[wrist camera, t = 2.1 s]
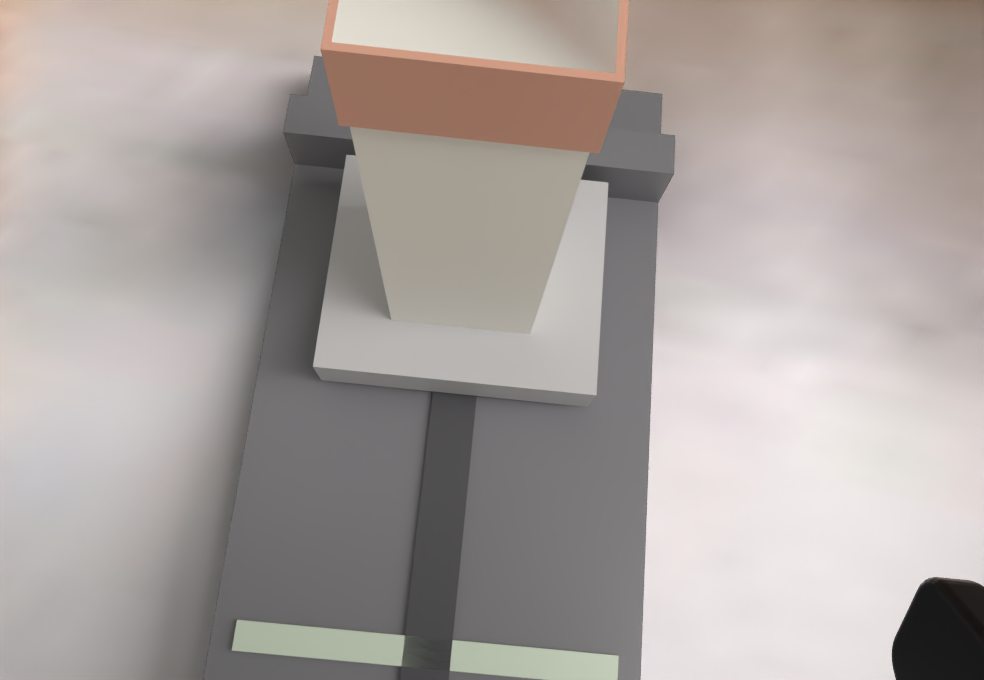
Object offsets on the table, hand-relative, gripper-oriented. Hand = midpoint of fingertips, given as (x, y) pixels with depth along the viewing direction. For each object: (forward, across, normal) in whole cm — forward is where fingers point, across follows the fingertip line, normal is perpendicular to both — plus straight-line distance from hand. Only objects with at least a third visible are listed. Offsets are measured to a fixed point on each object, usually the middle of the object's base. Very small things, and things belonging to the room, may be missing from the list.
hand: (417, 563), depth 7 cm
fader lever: (+12, 0, +3) cm, 12 cm away
